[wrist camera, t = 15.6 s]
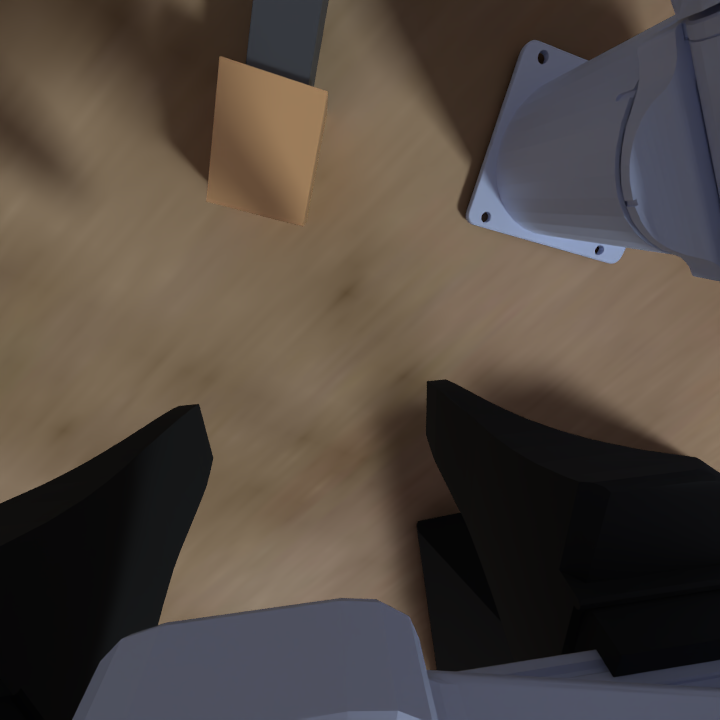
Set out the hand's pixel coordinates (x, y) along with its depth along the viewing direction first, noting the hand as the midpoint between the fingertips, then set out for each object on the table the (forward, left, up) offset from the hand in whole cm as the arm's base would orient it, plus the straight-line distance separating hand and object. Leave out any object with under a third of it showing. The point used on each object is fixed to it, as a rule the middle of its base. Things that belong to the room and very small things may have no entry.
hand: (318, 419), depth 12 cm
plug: (+4, -13, -10) cm, 17 cm away
